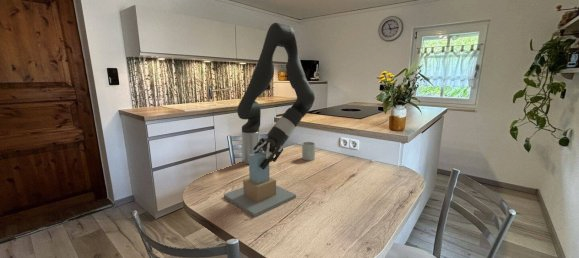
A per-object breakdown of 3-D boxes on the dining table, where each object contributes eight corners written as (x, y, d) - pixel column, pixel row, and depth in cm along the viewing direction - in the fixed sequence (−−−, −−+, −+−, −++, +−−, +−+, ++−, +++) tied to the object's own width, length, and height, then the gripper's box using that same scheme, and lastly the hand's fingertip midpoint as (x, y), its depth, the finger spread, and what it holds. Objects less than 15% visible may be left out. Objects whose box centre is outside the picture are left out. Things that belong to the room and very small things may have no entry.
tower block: (249, 179, 98) (248, 154, 96) (261, 175, 101) (260, 152, 99) (257, 184, 94) (256, 158, 92) (269, 180, 97) (269, 155, 95)
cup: (299, 159, 144) (299, 143, 142) (309, 154, 152) (309, 140, 150) (310, 161, 140) (310, 146, 138) (319, 156, 148) (320, 142, 146)
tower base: (224, 197, 99) (223, 179, 98) (264, 182, 113) (263, 166, 111) (254, 217, 85) (254, 197, 84) (296, 197, 99) (296, 180, 97)
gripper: (266, 122, 103) (241, 154, 99) (285, 128, 92) (258, 165, 88) (277, 133, 107) (254, 164, 103) (297, 140, 96) (271, 176, 92)
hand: (255, 164), depth 95 cm, fingers open, 8 cm apart
